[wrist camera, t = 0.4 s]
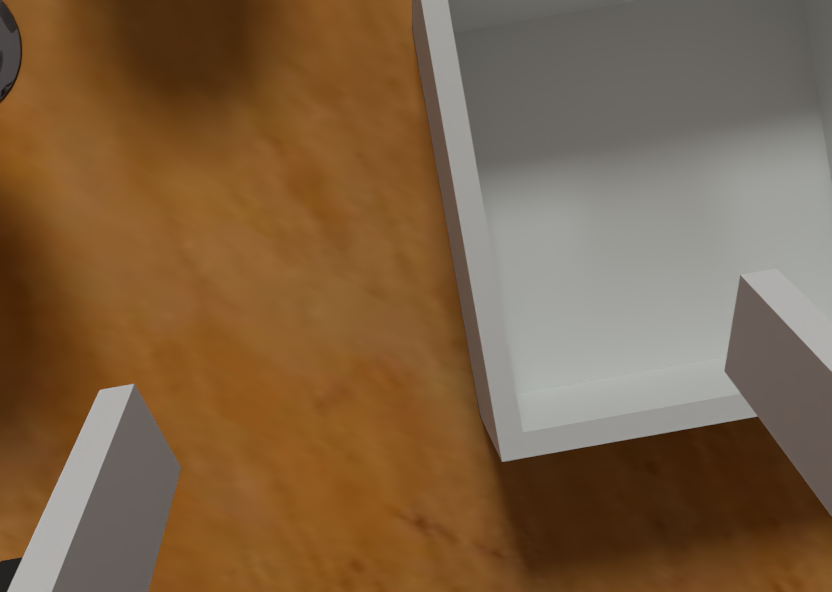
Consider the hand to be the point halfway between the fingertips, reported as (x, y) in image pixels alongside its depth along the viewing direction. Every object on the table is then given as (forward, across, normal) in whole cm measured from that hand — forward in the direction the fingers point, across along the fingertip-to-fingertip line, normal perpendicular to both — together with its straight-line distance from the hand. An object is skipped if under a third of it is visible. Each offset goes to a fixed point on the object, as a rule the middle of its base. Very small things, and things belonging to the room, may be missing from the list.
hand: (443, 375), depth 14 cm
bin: (+18, -12, +6) cm, 22 cm away
